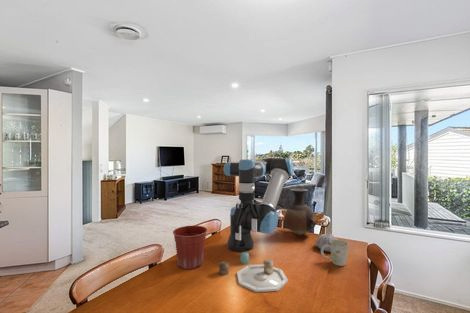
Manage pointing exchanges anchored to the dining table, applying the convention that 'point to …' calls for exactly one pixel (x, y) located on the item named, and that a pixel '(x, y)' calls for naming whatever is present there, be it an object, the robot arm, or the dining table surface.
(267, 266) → the beige wooden cylinder
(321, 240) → the sea urchin shell
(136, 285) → the dining table surface
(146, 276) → the dining table surface
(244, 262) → the teal bead
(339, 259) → the mug
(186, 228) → the flower pot
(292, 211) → the vase
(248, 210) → the robot arm
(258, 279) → the groove tray
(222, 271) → the walnut bead
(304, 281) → the dining table surface
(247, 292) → the dining table surface
